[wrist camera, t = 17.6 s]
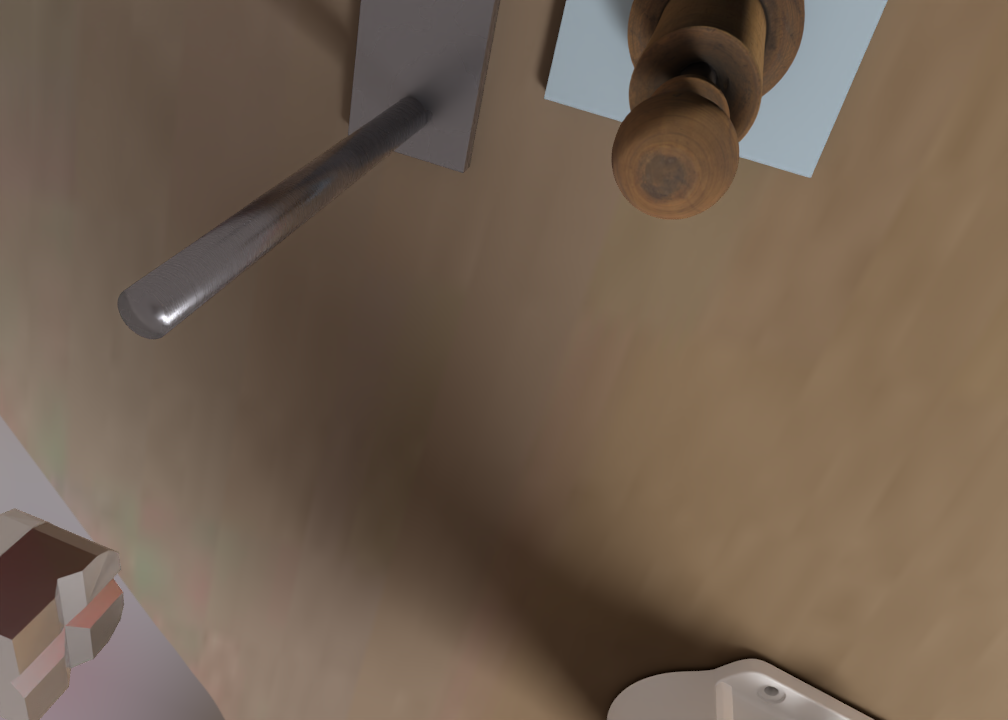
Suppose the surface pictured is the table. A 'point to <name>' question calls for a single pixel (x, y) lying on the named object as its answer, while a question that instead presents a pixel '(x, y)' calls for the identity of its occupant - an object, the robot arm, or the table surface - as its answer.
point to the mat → (783, 110)
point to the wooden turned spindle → (697, 95)
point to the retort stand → (346, 145)
